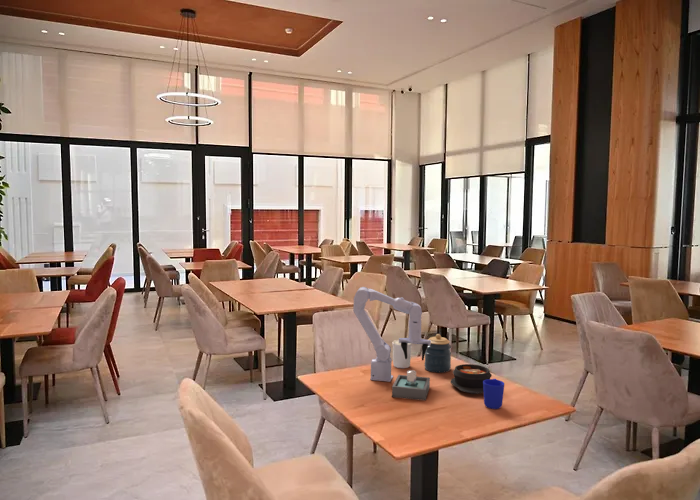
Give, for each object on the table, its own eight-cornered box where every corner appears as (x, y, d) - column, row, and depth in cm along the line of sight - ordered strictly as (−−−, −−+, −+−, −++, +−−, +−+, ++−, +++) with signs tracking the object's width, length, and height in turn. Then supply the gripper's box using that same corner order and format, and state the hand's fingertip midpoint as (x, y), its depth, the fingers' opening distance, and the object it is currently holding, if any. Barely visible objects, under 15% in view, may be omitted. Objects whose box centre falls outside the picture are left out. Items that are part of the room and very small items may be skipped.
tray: (391, 397, 211) (392, 386, 210) (398, 384, 226) (398, 374, 226) (425, 400, 207) (425, 389, 207) (429, 387, 222) (429, 377, 222)
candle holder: (388, 365, 253) (388, 342, 253) (399, 361, 261) (400, 339, 260) (403, 370, 247) (404, 346, 246) (415, 365, 254) (415, 342, 253)
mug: (504, 401, 207) (505, 377, 206) (503, 411, 196) (504, 387, 195) (483, 398, 210) (484, 375, 209) (481, 409, 199) (482, 384, 198)
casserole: (449, 377, 237) (449, 359, 237) (489, 379, 234) (490, 361, 234) (451, 396, 213) (452, 376, 212) (496, 398, 210) (497, 379, 209)
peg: (406, 390, 215) (406, 372, 215) (407, 387, 219) (407, 369, 218) (415, 391, 214) (415, 373, 213) (416, 388, 218) (416, 370, 217)
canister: (444, 374, 240) (445, 338, 239) (420, 370, 247) (420, 334, 246) (454, 368, 251) (455, 333, 250) (430, 363, 258) (431, 329, 257)
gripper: (397, 331, 228) (397, 360, 229) (429, 333, 225) (429, 362, 226) (400, 327, 235) (399, 356, 236) (431, 329, 231) (430, 358, 232)
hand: (414, 359), depth 231 cm, fingers open, 7 cm apart
